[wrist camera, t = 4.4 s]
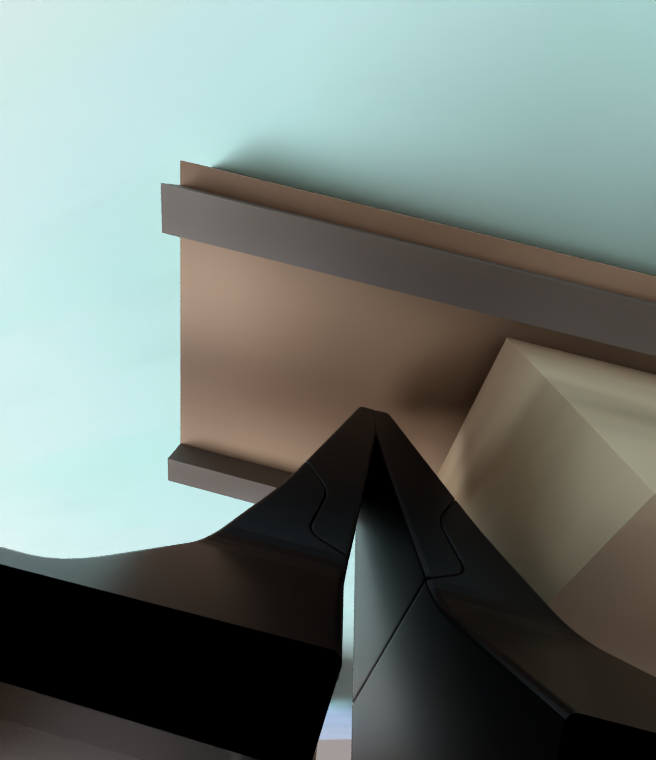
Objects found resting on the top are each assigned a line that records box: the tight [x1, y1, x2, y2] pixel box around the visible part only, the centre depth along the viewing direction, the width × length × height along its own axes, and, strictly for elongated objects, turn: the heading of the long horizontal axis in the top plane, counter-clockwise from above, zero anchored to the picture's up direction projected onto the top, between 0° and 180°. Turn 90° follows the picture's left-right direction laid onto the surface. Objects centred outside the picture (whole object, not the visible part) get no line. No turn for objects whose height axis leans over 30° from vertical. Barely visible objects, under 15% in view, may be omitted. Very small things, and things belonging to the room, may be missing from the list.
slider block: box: [437, 337, 656, 677], centre depth 7 cm, size 6×6×5 cm
